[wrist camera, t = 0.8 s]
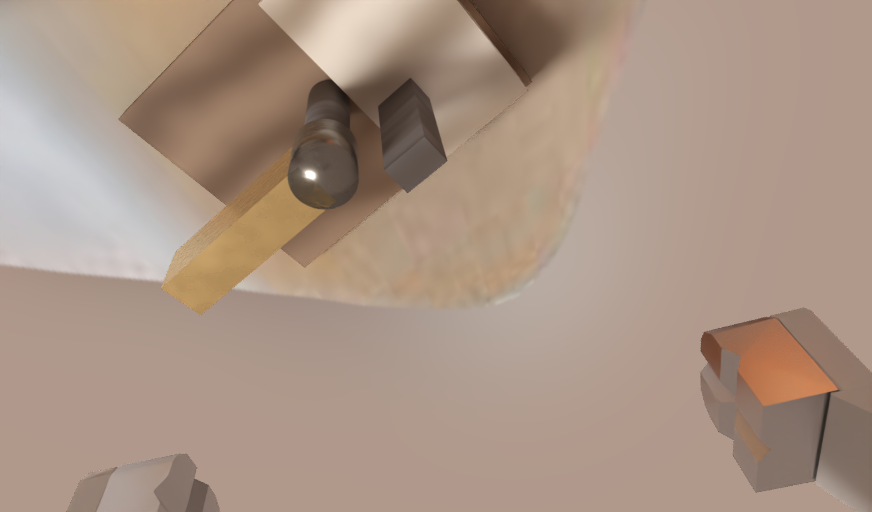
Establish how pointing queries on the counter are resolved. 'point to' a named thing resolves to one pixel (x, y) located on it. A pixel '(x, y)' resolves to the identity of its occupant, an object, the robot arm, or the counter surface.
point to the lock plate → (255, 117)
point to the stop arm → (267, 214)
